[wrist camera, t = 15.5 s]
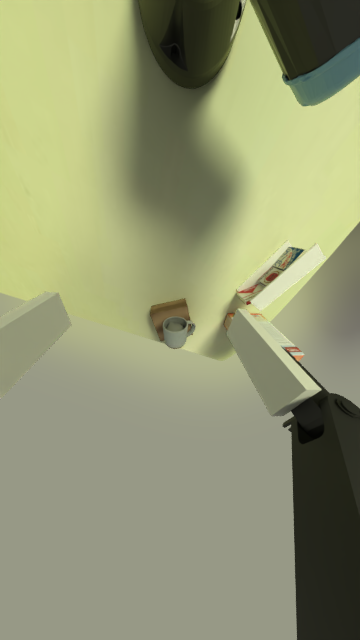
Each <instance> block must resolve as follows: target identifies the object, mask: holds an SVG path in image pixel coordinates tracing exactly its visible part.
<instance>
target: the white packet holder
mask: <svg viewBox="0 0 360 640" xmlns="http://www.w3.org/2000/svg"><path fill="white" fill-rule="evenodd" d="M325 259H326V257H325V256H324V255H323V253H322V251H321V249H320V247H319V245H318V243H315V244H314V245H313V246H312V247H311V248H310V249H308V250H307V251H306V250H305V249H300V248H294V247H292V246H291V244H290V243H289V241H288V240H287V241H286V242H285V243H284V244H283V245H282V246H281V247H280V248H279V249H278V250H277V251H275V252H274V253H273V254H272V255H271V256H270V257H269V258H268V259H267V260H266V261H265V262H264V263H263V264H262V265H261V266H260V267H259V268H258V269H257V270H256V271H255V272H254V273H253V274H252V275H251V276H250V277H249V278H248V279H247V280H246V281H245V282H243V283H242V284H241V285H240V286H239V287H238V288H237V289H236V290H237V291H238V292H237V296H238V297H239V298H240V299H241V300H242V301H243V302H244V303H245V304H246V305H248V304H251V303H252V304H253V305H254V306H255V307H256V308H257V309H258V310H260V311H262V310H263V309H264V308H265V307H267V306H268V305H269V304H270V303H272V302H273V301H274V300H275V299H277V298H278V297H279V296H280V295H282V294H283V293H284V292H285V291H287V290H288V289H289V288H290V287H291V286H293V285H294V284H295V283H296V282H298V281H299V280H300V279H301V278H303V277H304V276H305V275H306V274H308V273H309V272H310V271H311V270H312V269H314V268H315V267H316V266H317V265H319V264H320V263H321V262H322V261H324V260H325Z"/></svg>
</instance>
